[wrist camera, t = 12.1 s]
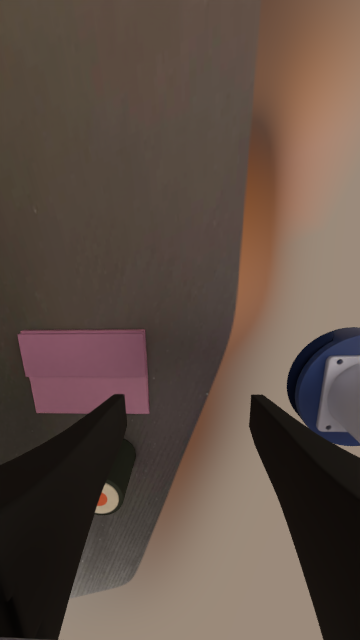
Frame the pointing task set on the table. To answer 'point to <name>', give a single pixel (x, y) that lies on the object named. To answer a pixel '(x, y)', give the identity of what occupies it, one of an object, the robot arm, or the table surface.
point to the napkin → (85, 368)
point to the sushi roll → (117, 481)
